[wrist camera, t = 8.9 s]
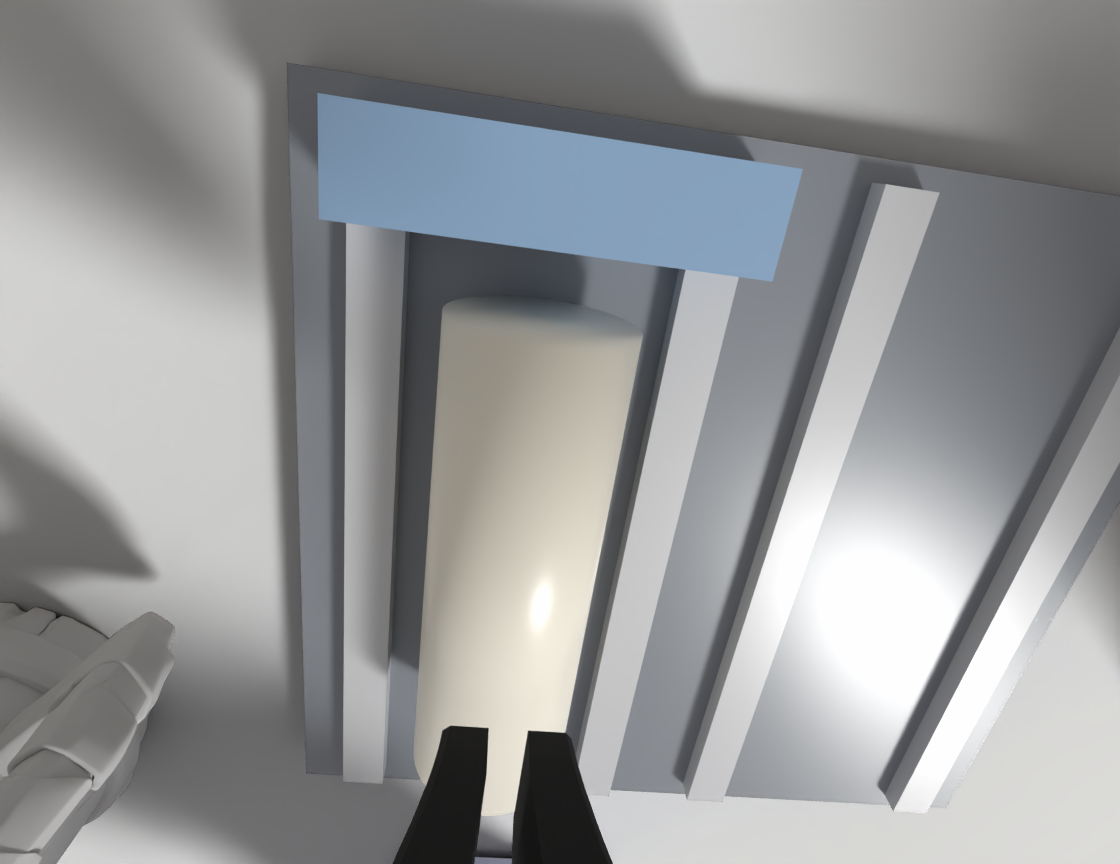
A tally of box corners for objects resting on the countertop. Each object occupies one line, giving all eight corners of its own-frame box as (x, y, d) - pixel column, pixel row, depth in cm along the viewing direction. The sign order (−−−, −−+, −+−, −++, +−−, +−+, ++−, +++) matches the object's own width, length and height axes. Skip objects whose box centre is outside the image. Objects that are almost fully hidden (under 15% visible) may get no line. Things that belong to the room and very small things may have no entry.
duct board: (929, 782, 24) (992, 882, 20) (315, 746, 21) (278, 852, 18) (1234, 217, 16) (1416, 235, 12) (303, 68, 13) (233, 44, 10)
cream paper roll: (559, 696, 20) (561, 822, 16) (427, 683, 19) (399, 809, 16) (630, 310, 15) (657, 363, 11) (456, 286, 15) (425, 333, 11)
